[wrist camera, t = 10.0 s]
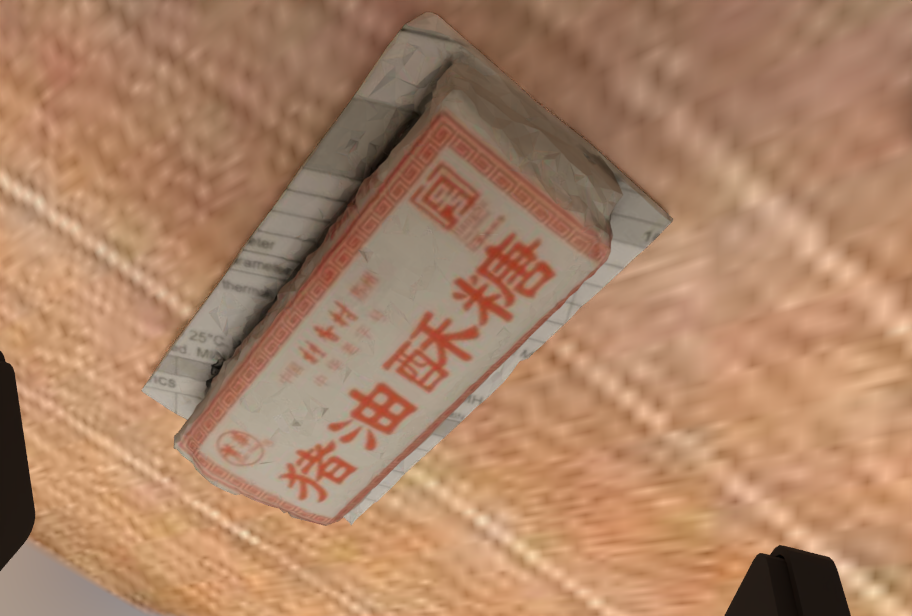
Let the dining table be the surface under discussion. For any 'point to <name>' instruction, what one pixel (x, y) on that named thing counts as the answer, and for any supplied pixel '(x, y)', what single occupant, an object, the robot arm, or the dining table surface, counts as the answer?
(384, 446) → the packaged product
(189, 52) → the dining table surface
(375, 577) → the dining table surface
